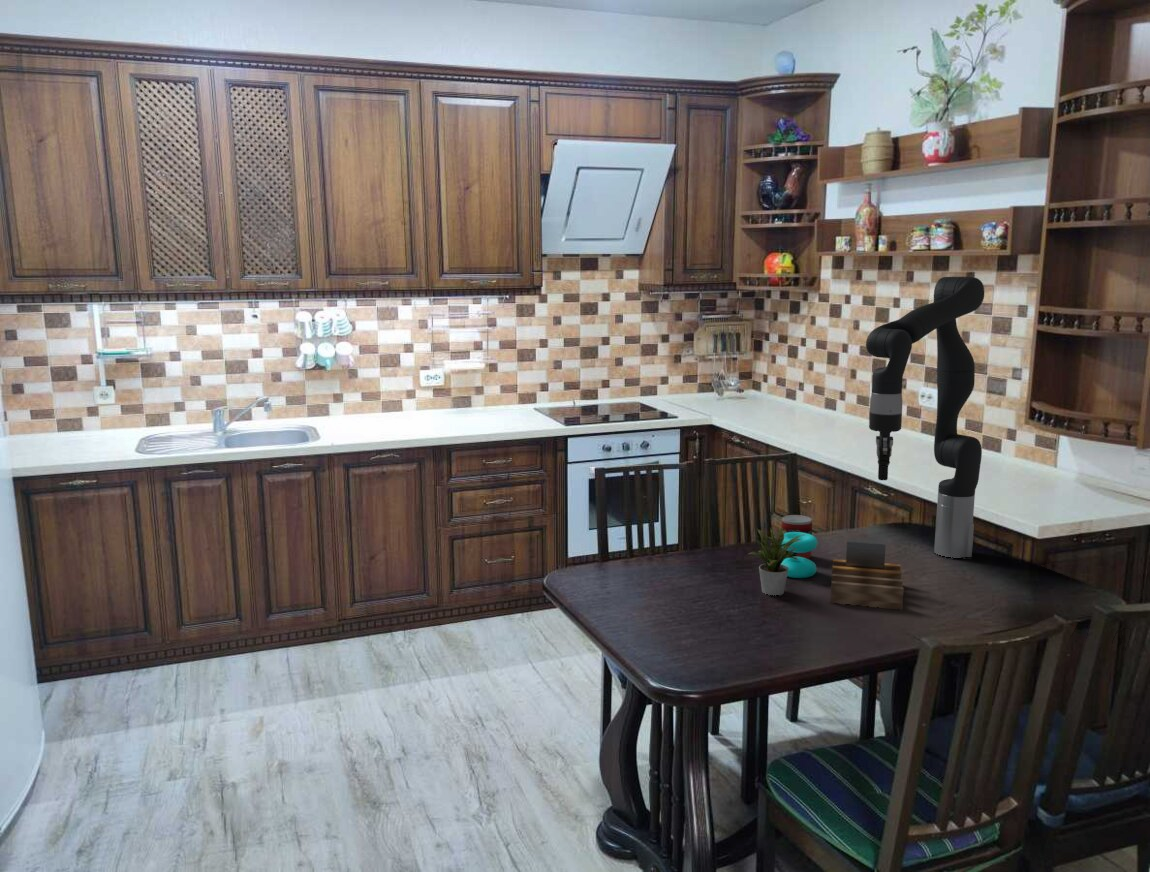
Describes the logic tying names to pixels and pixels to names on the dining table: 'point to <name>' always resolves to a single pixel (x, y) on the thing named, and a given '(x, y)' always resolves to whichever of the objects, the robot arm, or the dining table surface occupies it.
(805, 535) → the turquoise curved double lobe
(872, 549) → the metal panel
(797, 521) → the canned food
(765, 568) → the house plant
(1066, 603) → the dining table surface
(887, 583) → the slotted rack
